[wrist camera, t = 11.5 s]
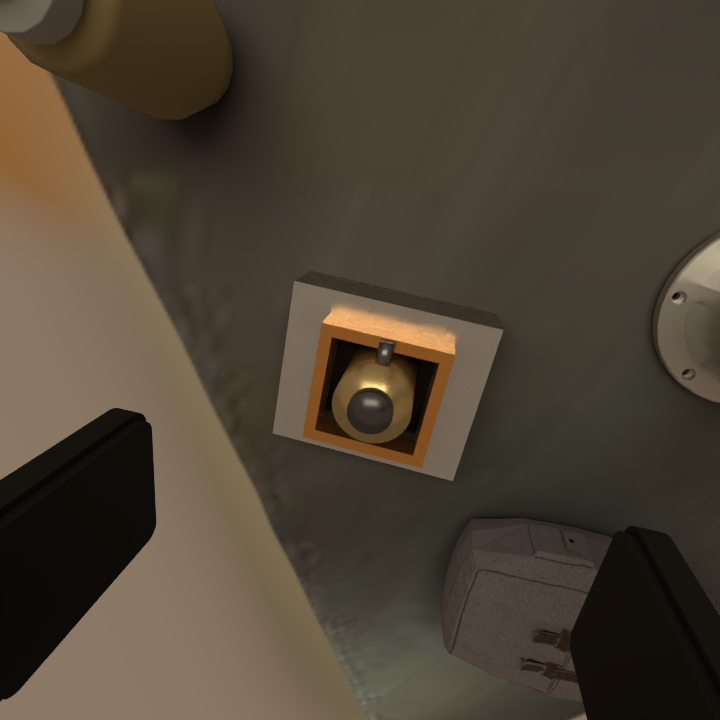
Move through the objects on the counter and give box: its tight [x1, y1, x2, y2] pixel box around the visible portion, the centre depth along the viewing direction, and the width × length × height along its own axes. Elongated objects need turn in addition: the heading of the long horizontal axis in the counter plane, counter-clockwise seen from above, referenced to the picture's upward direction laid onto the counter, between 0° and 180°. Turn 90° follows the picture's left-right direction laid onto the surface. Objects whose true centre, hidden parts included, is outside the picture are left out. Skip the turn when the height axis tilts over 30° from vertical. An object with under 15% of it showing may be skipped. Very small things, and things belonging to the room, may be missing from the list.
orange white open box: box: [273, 271, 503, 481], centre depth 33 cm, size 14×12×6 cm
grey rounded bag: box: [441, 518, 613, 702], centre depth 36 cm, size 15×8×20 cm
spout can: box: [332, 339, 418, 443], centre depth 31 cm, size 6×5×9 cm
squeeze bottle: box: [0, 0, 233, 120], centre depth 22 cm, size 8×8×18 cm
